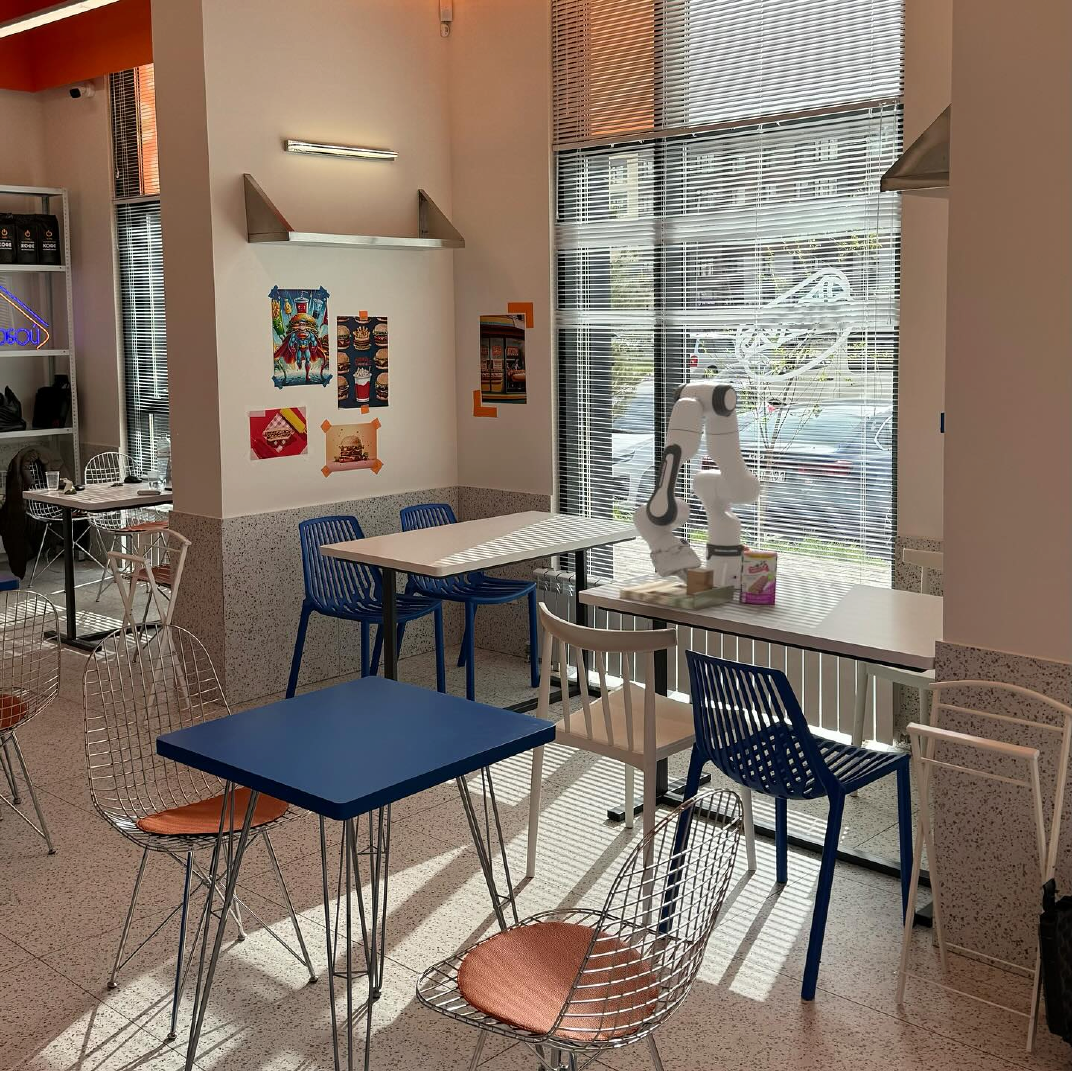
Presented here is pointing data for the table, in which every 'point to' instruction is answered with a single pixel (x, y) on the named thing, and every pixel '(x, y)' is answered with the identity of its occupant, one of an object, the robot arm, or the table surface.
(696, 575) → the walnut block
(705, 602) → the trap deck
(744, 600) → the candy bar box
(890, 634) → the table surface
